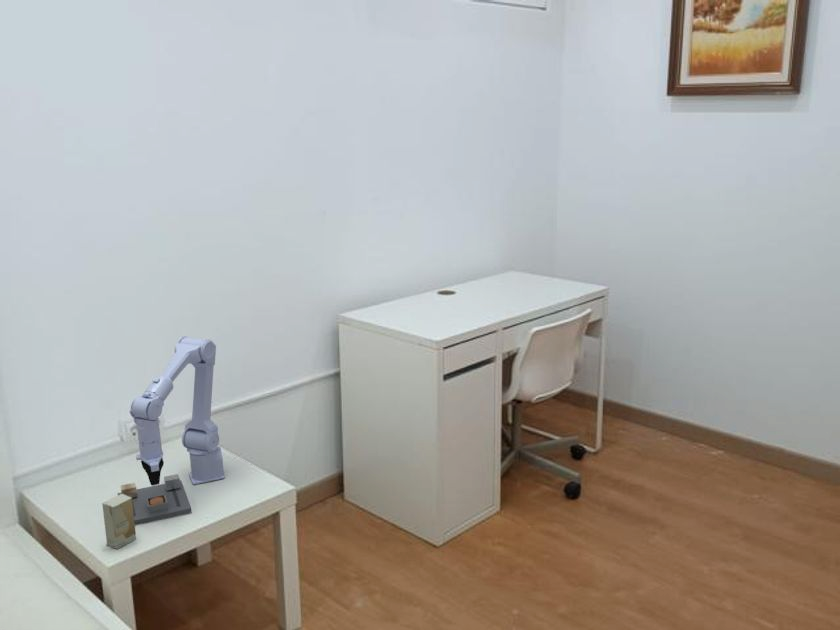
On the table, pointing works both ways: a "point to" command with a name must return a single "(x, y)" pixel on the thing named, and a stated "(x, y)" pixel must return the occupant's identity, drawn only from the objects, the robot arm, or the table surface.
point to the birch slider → (129, 490)
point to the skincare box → (119, 521)
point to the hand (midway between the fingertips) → (154, 483)
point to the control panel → (172, 505)
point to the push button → (156, 501)
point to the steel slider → (172, 482)
